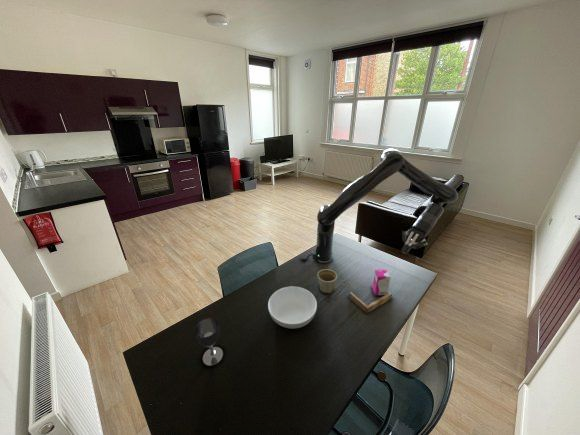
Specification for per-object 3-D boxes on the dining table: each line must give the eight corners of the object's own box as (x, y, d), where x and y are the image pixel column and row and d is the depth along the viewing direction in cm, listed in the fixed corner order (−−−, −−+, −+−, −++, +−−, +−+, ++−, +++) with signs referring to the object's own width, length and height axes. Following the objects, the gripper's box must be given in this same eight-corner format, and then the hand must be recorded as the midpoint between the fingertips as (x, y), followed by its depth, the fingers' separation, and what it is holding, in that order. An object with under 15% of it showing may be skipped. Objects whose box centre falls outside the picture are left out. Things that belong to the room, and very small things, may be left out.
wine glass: (212, 371, 82) (205, 341, 76) (196, 359, 86) (189, 330, 80) (228, 352, 88) (223, 323, 82) (213, 342, 92) (208, 314, 86)
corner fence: (366, 313, 105) (367, 308, 103) (349, 298, 113) (349, 293, 112) (391, 298, 112) (392, 294, 111) (373, 285, 121) (374, 280, 120)
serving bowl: (258, 316, 104) (257, 304, 101) (291, 291, 117) (291, 280, 115) (294, 345, 91) (294, 333, 88) (326, 313, 105) (327, 302, 102)
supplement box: (383, 287, 119) (387, 269, 114) (386, 296, 114) (391, 277, 109) (371, 287, 120) (375, 268, 115) (374, 295, 114) (378, 276, 109)
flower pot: (314, 292, 116) (315, 278, 113) (319, 280, 124) (320, 267, 121) (333, 298, 113) (334, 283, 109) (337, 285, 121) (338, 271, 117)
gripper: (409, 214, 116) (388, 243, 115) (437, 225, 105) (414, 256, 105) (414, 221, 120) (394, 249, 120) (440, 232, 110) (418, 262, 110)
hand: (403, 252), depth 112 cm, fingers closed
